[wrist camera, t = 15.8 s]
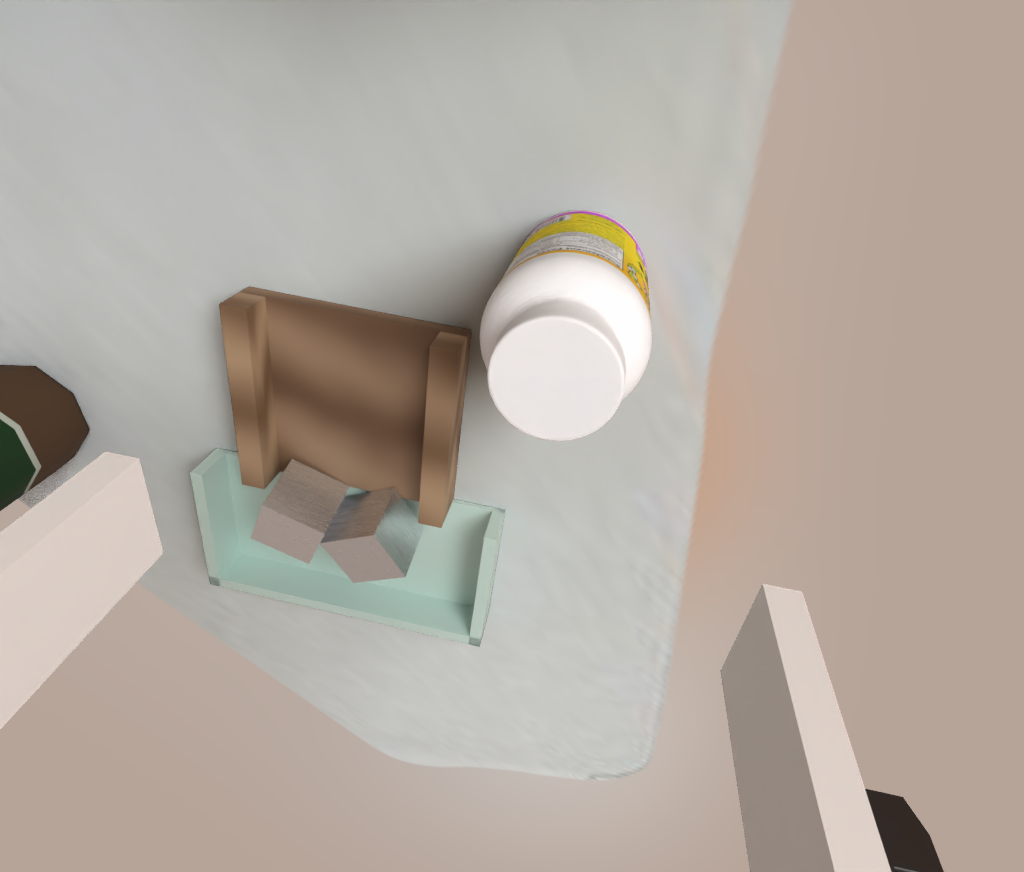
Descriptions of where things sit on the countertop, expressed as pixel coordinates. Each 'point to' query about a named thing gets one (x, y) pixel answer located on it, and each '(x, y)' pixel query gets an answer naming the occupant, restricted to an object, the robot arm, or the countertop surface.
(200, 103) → the countertop surface
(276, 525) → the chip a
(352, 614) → the tray
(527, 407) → the supplement bottle
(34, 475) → the beer bottle
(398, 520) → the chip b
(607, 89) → the countertop surface
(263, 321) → the slot board
